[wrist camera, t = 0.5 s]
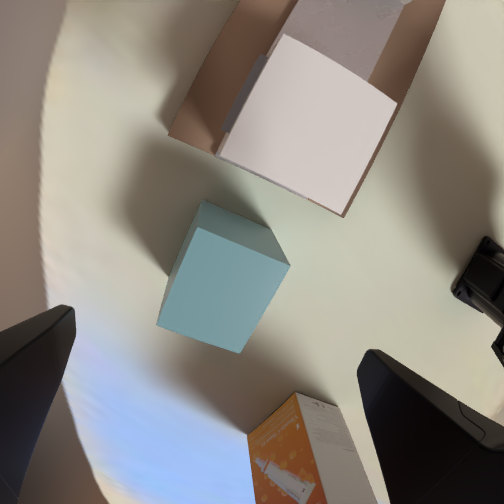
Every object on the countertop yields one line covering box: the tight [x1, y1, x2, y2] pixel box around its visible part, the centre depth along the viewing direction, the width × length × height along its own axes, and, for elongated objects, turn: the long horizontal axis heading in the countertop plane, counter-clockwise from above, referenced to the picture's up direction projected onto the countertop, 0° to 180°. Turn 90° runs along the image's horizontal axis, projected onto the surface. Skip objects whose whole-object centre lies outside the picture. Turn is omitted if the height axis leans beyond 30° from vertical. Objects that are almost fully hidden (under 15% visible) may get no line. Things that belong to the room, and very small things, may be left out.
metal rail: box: [215, 0, 404, 200], centre depth 15 cm, size 6×22×1 cm, turn 154°
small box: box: [247, 392, 378, 504], centre depth 24 cm, size 8×6×13 cm
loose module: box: [156, 199, 290, 354], centre depth 19 cm, size 5×6×6 cm
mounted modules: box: [219, 0, 413, 215], centre depth 13 cm, size 6×21×5 cm, turn 154°
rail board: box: [168, 0, 446, 218], centre depth 16 cm, size 12×22×2 cm, turn 154°
